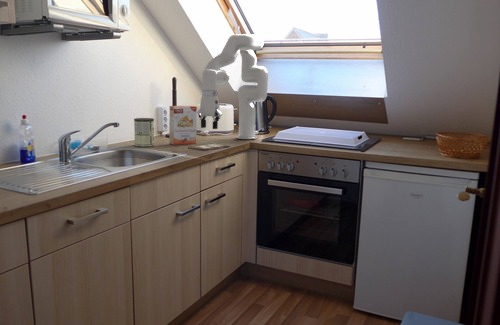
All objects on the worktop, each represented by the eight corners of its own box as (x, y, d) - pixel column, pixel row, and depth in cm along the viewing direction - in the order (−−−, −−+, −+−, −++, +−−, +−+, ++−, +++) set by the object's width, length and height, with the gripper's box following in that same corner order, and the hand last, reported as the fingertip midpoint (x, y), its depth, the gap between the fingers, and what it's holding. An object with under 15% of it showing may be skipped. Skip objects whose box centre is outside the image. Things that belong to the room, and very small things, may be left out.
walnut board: (212, 144, 247) (212, 143, 247) (229, 147, 240) (229, 145, 239) (187, 148, 232) (188, 146, 232) (205, 150, 225) (205, 149, 224)
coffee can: (133, 144, 242) (132, 117, 239) (152, 143, 246) (152, 117, 243) (136, 146, 233) (135, 119, 230) (156, 146, 237) (155, 119, 234)
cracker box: (173, 145, 241) (173, 106, 237) (169, 144, 246) (168, 105, 242) (196, 143, 249) (197, 106, 245) (191, 142, 254) (191, 105, 250)
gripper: (227, 94, 229) (226, 129, 232) (202, 93, 239) (201, 126, 242) (217, 94, 223) (217, 130, 226) (192, 93, 233) (192, 127, 236)
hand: (209, 128), depth 234 cm, fingers open, 7 cm apart
